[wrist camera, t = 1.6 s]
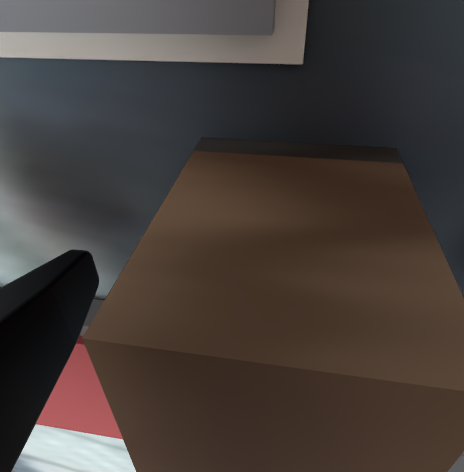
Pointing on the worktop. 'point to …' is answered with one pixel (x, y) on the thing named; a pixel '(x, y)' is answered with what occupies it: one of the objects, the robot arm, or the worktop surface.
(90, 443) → the worktop surface
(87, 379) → the ink pad
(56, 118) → the worktop surface
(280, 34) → the frame
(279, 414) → the brown cardboard box
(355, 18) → the worktop surface
